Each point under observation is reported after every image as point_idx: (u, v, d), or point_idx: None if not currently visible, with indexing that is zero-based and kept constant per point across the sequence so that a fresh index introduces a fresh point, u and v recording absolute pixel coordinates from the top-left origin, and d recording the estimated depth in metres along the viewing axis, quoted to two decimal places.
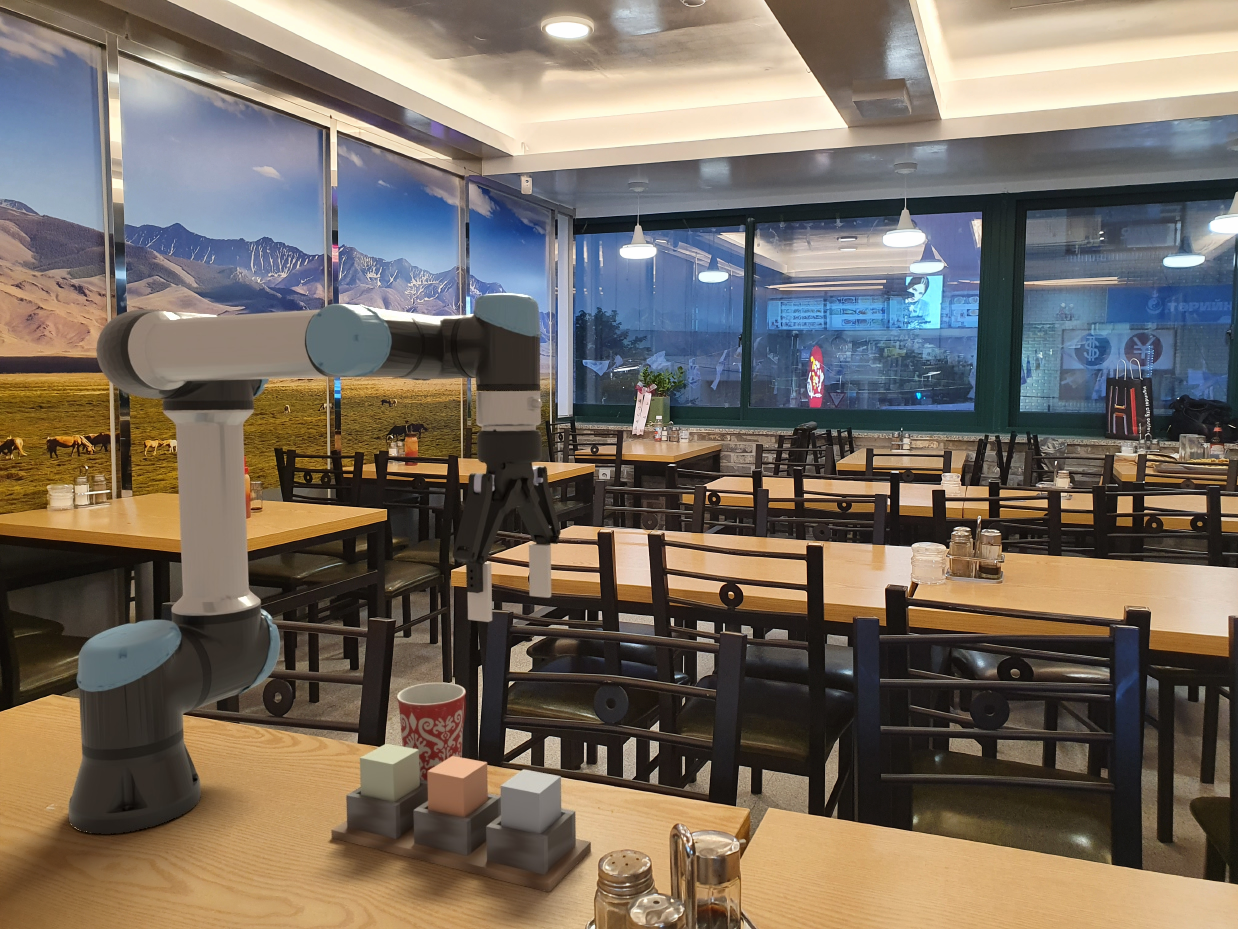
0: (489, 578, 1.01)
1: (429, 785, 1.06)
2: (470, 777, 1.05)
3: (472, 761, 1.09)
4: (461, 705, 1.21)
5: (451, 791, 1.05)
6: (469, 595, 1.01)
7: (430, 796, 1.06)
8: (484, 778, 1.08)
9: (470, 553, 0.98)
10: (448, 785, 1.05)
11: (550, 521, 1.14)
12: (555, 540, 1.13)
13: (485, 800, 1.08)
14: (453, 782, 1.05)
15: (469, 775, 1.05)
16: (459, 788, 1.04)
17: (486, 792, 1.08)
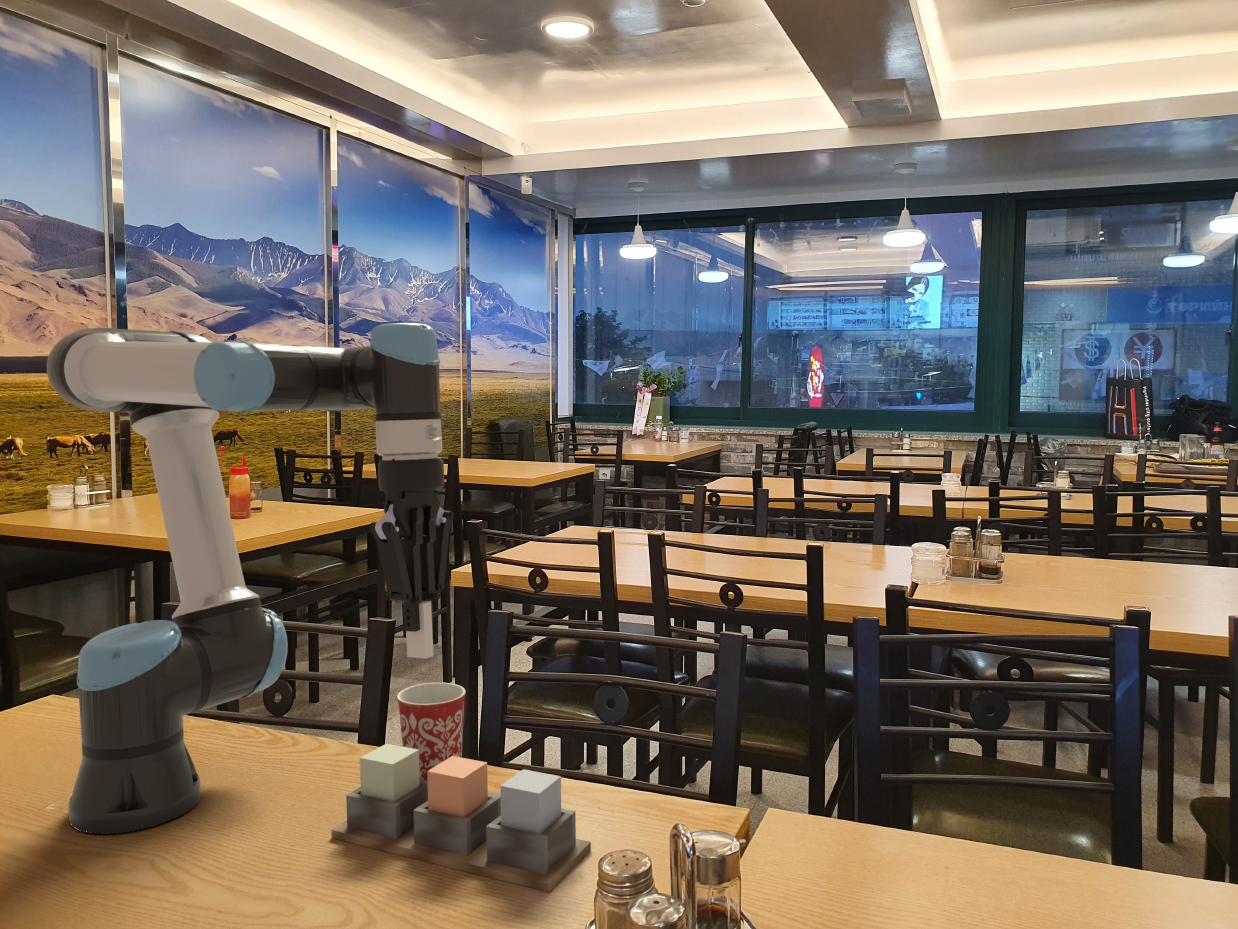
0: (425, 617, 1.06)
1: (429, 785, 1.06)
2: (470, 777, 1.05)
3: (472, 761, 1.09)
4: (461, 705, 1.21)
5: (451, 791, 1.05)
6: (408, 633, 1.07)
7: (430, 796, 1.06)
8: (484, 778, 1.08)
9: (404, 598, 1.03)
10: (448, 785, 1.05)
11: (437, 569, 1.09)
12: (435, 595, 1.07)
13: (485, 800, 1.08)
14: (453, 782, 1.05)
15: (469, 775, 1.05)
16: (459, 788, 1.04)
17: (486, 792, 1.08)
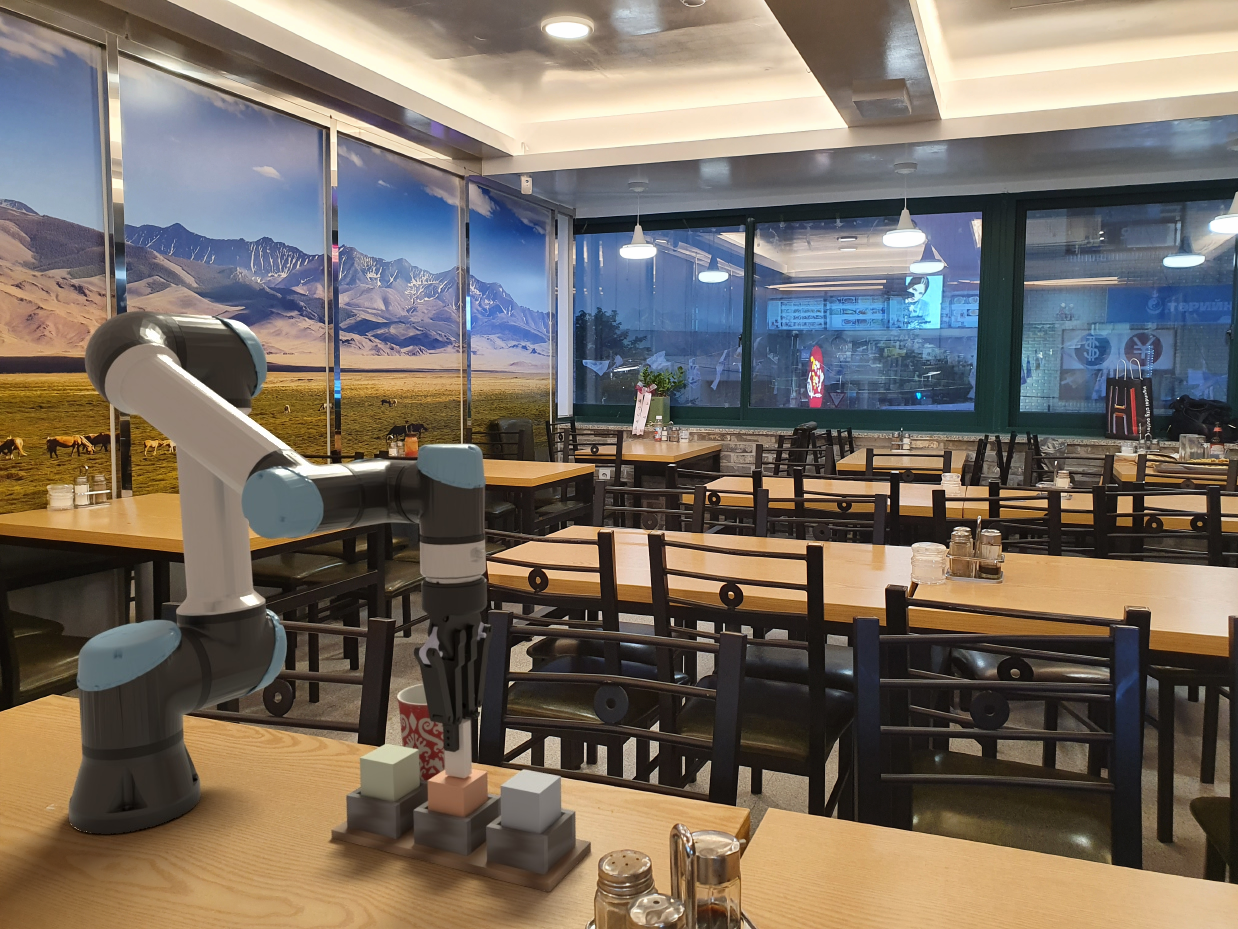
0: (465, 737, 1.06)
1: (429, 794, 1.06)
2: (470, 786, 1.05)
3: (472, 770, 1.09)
4: None
5: (451, 800, 1.05)
6: (447, 752, 1.07)
7: (431, 805, 1.06)
8: (484, 787, 1.08)
9: (446, 721, 1.03)
10: (448, 794, 1.05)
11: (476, 685, 1.09)
12: (475, 714, 1.07)
13: None
14: (453, 792, 1.05)
15: (469, 784, 1.05)
16: (459, 798, 1.04)
17: (486, 801, 1.08)
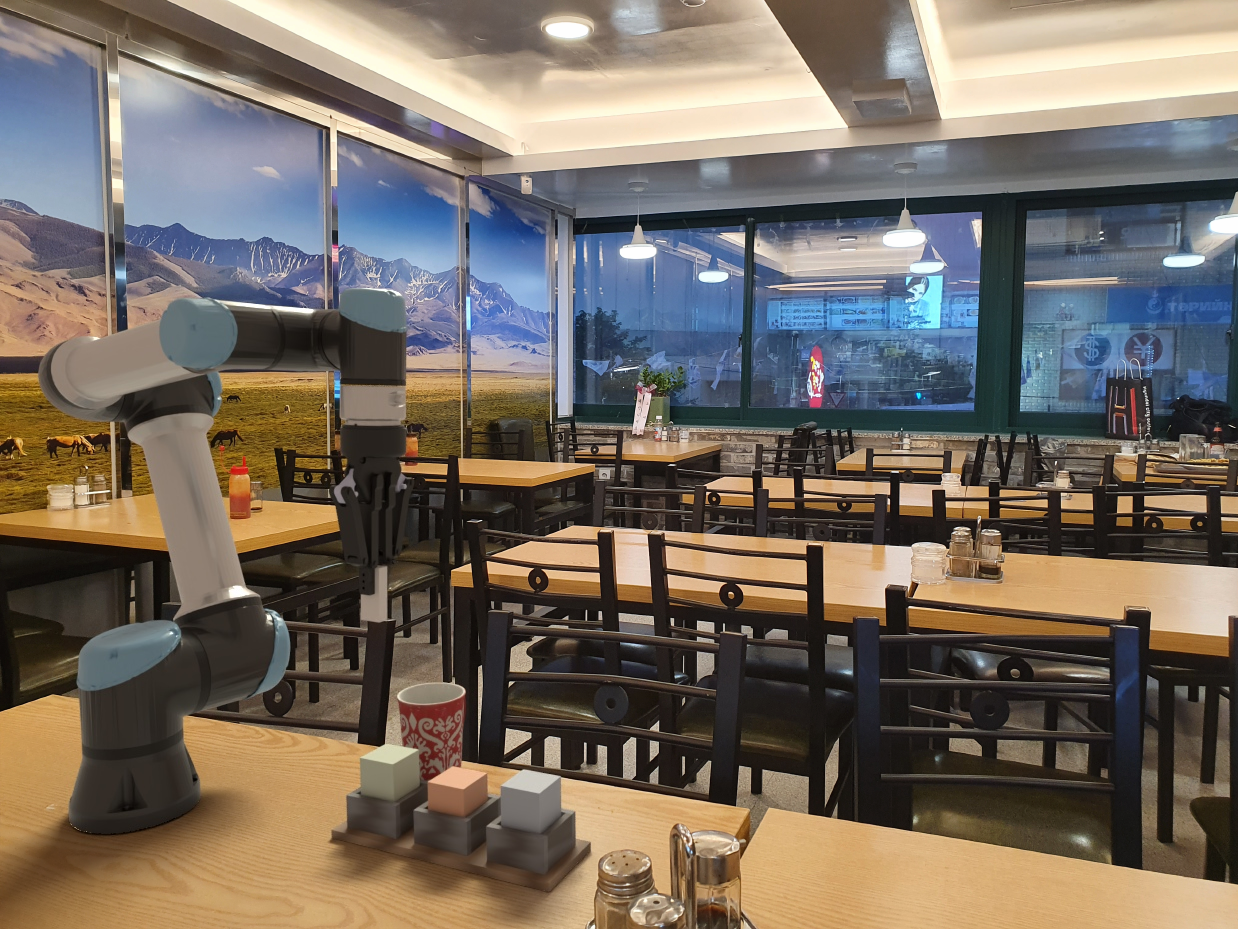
0: (381, 581, 1.07)
1: (429, 796, 1.06)
2: (470, 787, 1.05)
3: (472, 772, 1.09)
4: (461, 705, 1.21)
5: (451, 802, 1.05)
6: (363, 597, 1.08)
7: (431, 806, 1.06)
8: (484, 789, 1.08)
9: (360, 562, 1.04)
10: (448, 796, 1.05)
11: (395, 535, 1.10)
12: (392, 560, 1.08)
13: None
14: (453, 793, 1.05)
15: (469, 786, 1.05)
16: (459, 799, 1.04)
17: None
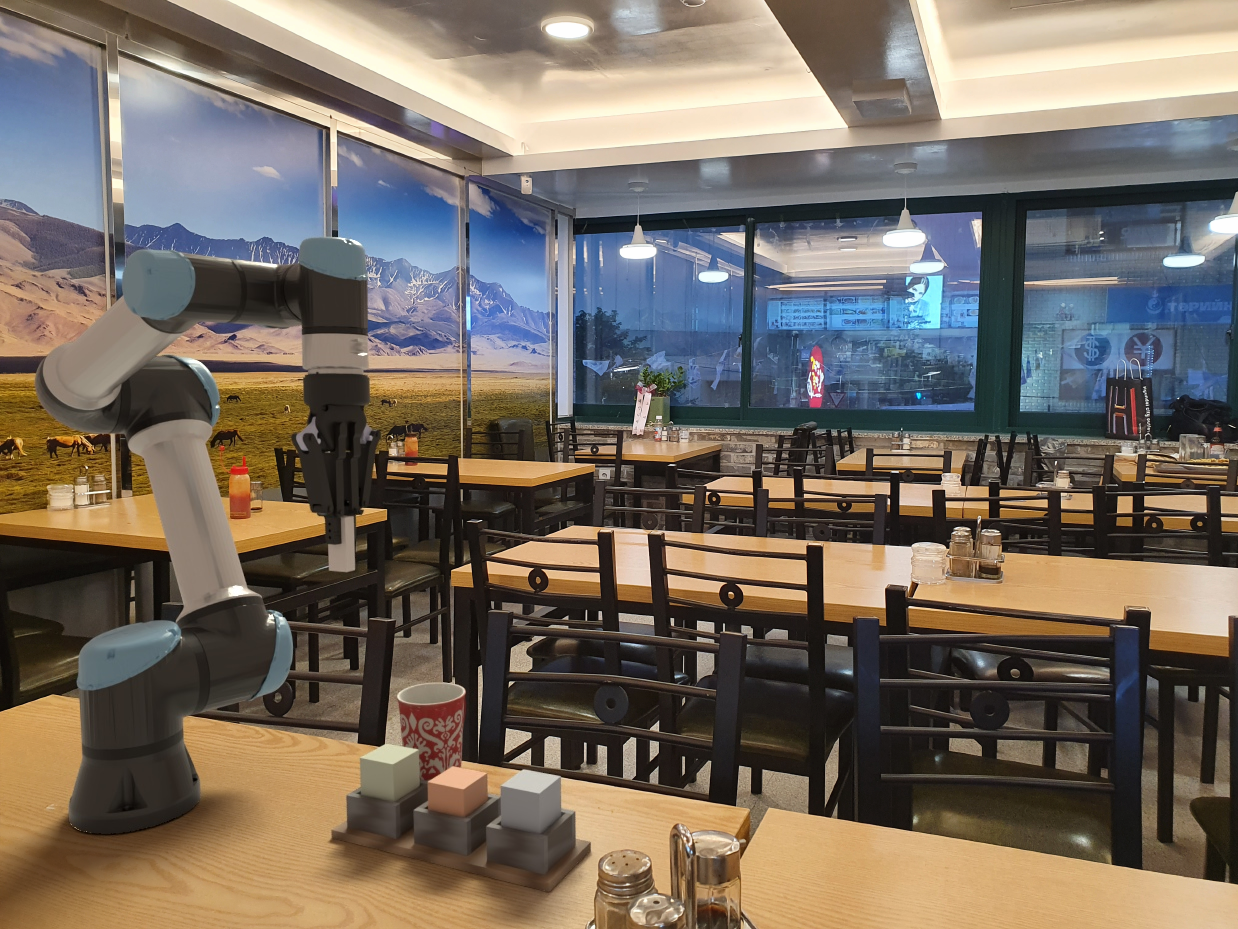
0: (347, 531, 1.08)
1: (429, 796, 1.06)
2: (470, 787, 1.05)
3: (472, 772, 1.09)
4: (461, 705, 1.21)
5: (451, 802, 1.05)
6: (330, 547, 1.08)
7: (431, 806, 1.06)
8: (484, 789, 1.08)
9: (325, 510, 1.04)
10: (448, 796, 1.05)
11: (362, 486, 1.10)
12: (358, 510, 1.09)
13: None
14: (453, 793, 1.05)
15: (469, 786, 1.05)
16: (459, 799, 1.04)
17: None
